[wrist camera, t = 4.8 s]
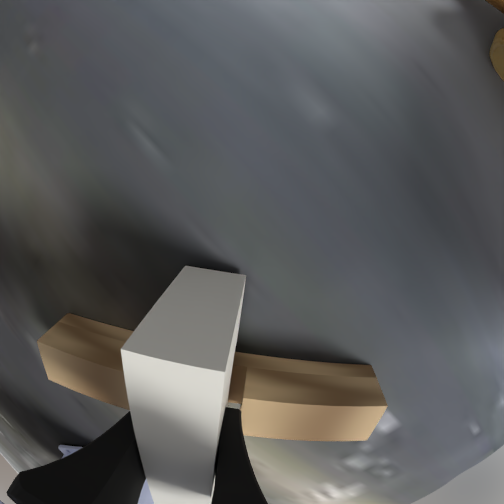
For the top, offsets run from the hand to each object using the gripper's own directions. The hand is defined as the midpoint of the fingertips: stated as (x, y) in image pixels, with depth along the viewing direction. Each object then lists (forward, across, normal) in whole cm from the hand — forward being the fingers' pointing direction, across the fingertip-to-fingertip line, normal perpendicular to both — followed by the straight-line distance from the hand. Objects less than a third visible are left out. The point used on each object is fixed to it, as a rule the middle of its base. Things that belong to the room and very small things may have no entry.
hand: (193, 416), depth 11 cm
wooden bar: (+3, 0, 0) cm, 3 cm away
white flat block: (+3, 0, 0) cm, 3 cm away
